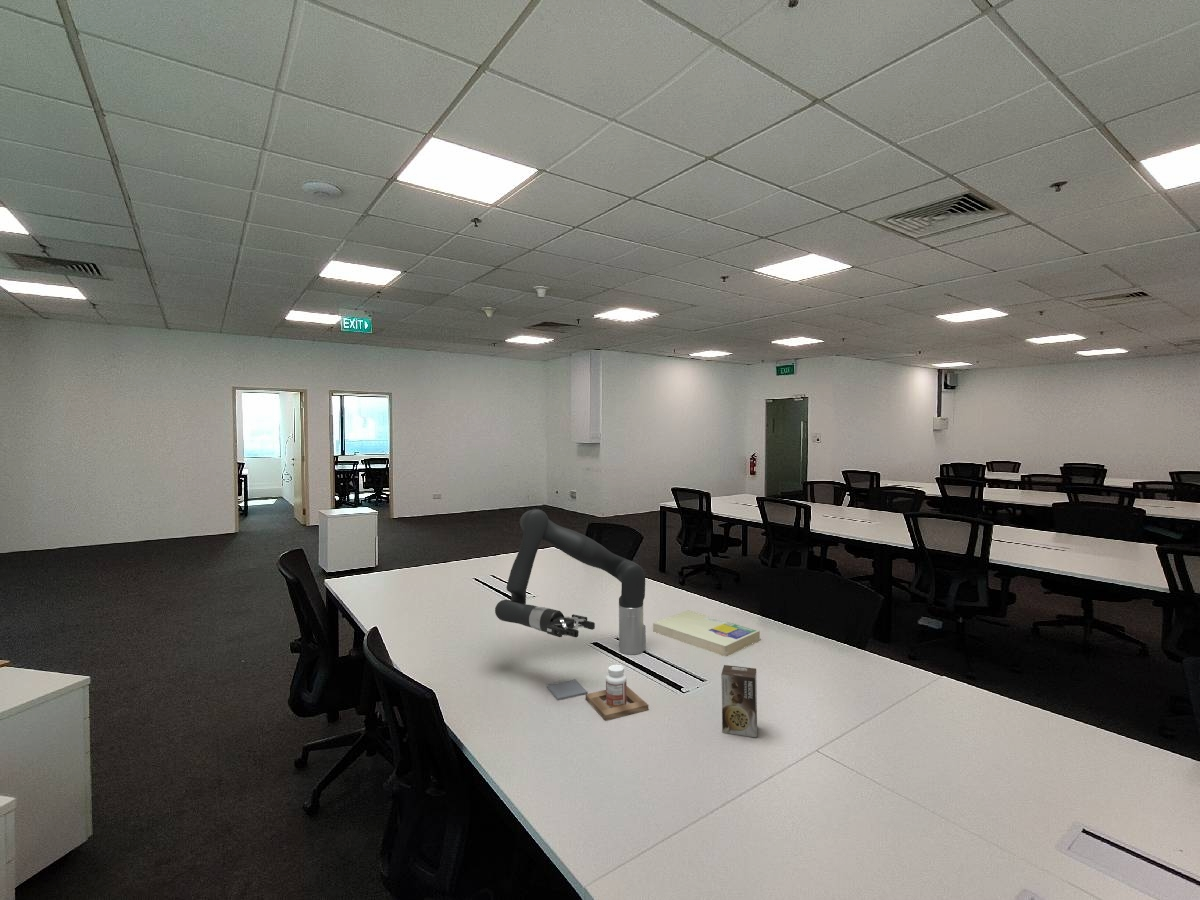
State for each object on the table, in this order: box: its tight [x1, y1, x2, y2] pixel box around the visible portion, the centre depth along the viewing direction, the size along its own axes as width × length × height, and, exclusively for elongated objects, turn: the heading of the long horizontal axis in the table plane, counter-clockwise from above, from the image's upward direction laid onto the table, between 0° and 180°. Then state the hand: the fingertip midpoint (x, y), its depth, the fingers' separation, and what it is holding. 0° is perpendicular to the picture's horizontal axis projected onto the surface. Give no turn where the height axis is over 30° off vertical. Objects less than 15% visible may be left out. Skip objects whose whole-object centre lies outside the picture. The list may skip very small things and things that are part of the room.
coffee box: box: [720, 664, 758, 738], centre depth 145 cm, size 9×6×16 cm
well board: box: [585, 685, 649, 722], centre depth 159 cm, size 14×14×2 cm
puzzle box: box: [652, 610, 761, 657], centre depth 216 cm, size 36×5×24 cm
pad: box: [546, 678, 589, 701], centre depth 169 cm, size 10×10×1 cm
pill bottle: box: [605, 664, 628, 708], centre depth 159 cm, size 6×6×11 cm
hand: (586, 630), depth 165 cm, fingers open, 8 cm apart
